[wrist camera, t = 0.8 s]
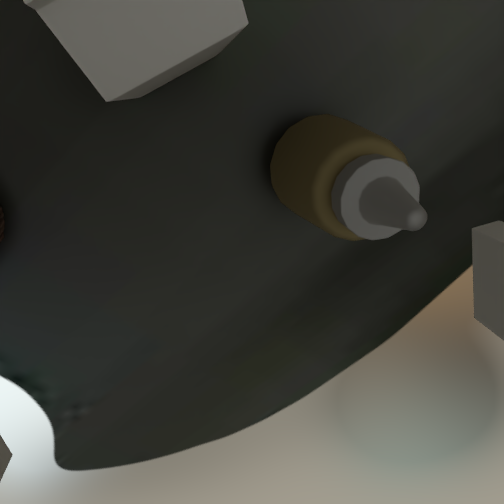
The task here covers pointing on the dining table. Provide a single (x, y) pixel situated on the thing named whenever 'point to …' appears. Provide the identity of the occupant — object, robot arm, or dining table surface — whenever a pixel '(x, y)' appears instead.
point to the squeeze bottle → (346, 179)
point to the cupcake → (1, 224)
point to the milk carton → (140, 38)
